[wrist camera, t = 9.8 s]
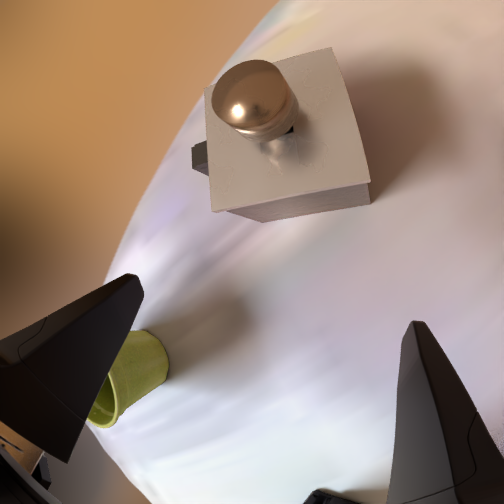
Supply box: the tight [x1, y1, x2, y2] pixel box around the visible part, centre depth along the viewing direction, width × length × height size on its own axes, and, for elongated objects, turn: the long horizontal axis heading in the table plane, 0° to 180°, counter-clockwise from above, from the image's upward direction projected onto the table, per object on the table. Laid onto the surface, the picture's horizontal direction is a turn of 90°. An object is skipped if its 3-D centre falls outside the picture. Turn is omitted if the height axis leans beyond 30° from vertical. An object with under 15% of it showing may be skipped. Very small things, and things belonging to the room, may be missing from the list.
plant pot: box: [87, 330, 169, 428], centre depth 24 cm, size 9×9×9 cm
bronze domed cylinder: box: [211, 60, 299, 142], centre depth 16 cm, size 4×4×9 cm
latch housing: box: [192, 47, 371, 223], centre depth 19 cm, size 9×11×7 cm
